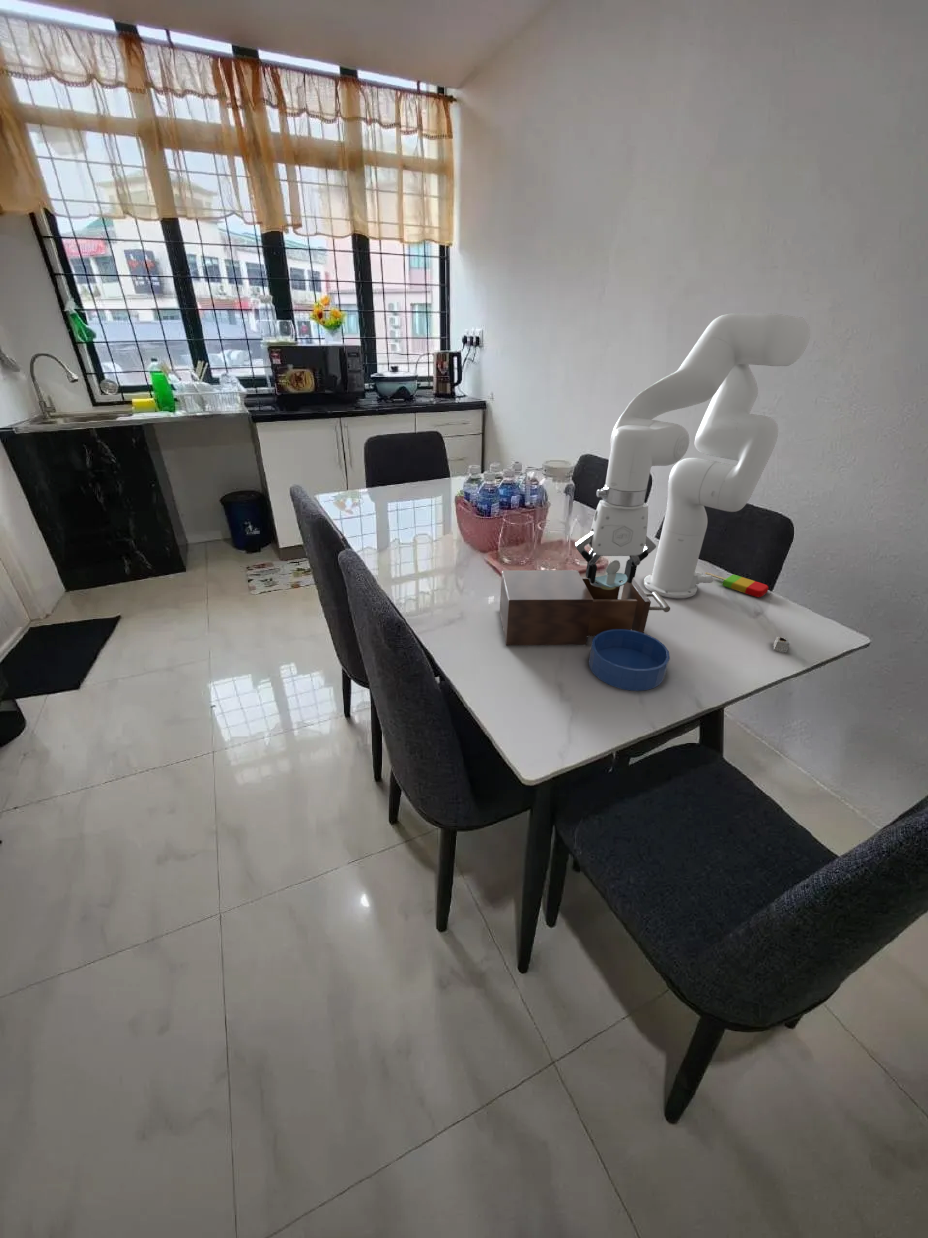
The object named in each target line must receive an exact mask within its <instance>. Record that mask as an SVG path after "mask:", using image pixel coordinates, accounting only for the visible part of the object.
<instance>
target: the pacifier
mask: <svg viewBox="0 0 928 1238" xmlns="http://www.w3.org/2000/svg"><path fill="white" fill-rule="evenodd" d="M620 568H621V563H620V561H619V560H618V559H615V560H612V561H611V562H610V563H609V564H607V566H606V569H605V572H606V574H605V575H604V574H603V575H601V576H596V577H595V582H597V583H599V584H597V583H593V584H591V583H590V584H591V585H593V586H595V587H601V588H602V589H605V590H612V589H615V588H616V587H619V586H620V587H623V586H624V584H625V583H626V582H627V579H628V578H627V576H626V575H625V574H624V573H623V572H619V570H620ZM620 581H621V582H620Z"/></svg>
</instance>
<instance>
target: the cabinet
mask: <svg viewBox="0 0 928 1238" xmlns="http://www.w3.org/2000/svg"><path fill="white" fill-rule="evenodd" d="M581 577H582V576H581V574H580V572H579V570H578V569H563V570H562V569H553V570H552V569H544V570H543V569H538V570H537V569H535V570H534V569H533V570H532V569H531V570H528V569H527V570H525V569H523V570H521V569H520V570H517V569H516V570H515V569H514V570H513V569H512V570H511V569H510V570H507V569H506V570H504V569H503V570H501V580H500V582H501V583H500V598H499V600H500V601H499V616H500V621H501V626H502V632H503V638H504V642H505V646H578V645H579V646H586V645H587V641H588V636H587V635H588V629H589V623H590V617H591V611H592V605H593V598H592V596H591V594H590V592H589V591H588V589H587V587H586V585H585V583H584V581H583V580H582V578H581Z"/></svg>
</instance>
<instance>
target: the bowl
mask: <svg viewBox="0 0 928 1238" xmlns="http://www.w3.org/2000/svg"><path fill="white" fill-rule="evenodd" d="M590 646H591V647H590V652H589V659H588V666H589V670H590V671H591V673H592V674H593V675H594V676H595V677H596V678H597V679H598V680H600V681H602V682H603V683H605V684H607V685H609V686H612V687H614V688H616V689H619V690H620V689H621V690H625V691H632V692H634V691H636V692H640V691H641V692H642V691H649V690H653V689H654V688H656V687H658V686H660V685H661V684H662V683H663V681H664V679H665V677H666V673H667V670H668V666H669V663H670V660H671V657H670V651H669V650H668V648H667V646H666V645H665V644H664V643H663V642H661V641H660V640H659V639H658V638H656V637H653V636H651V635H650V634H648V633H645V632H644V633H641V632H638V631H634V630H627V629H612V630H607V631H603V632H601V633H599V634H597V635H596V636H593V639H592V641H591V645H590Z"/></svg>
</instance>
